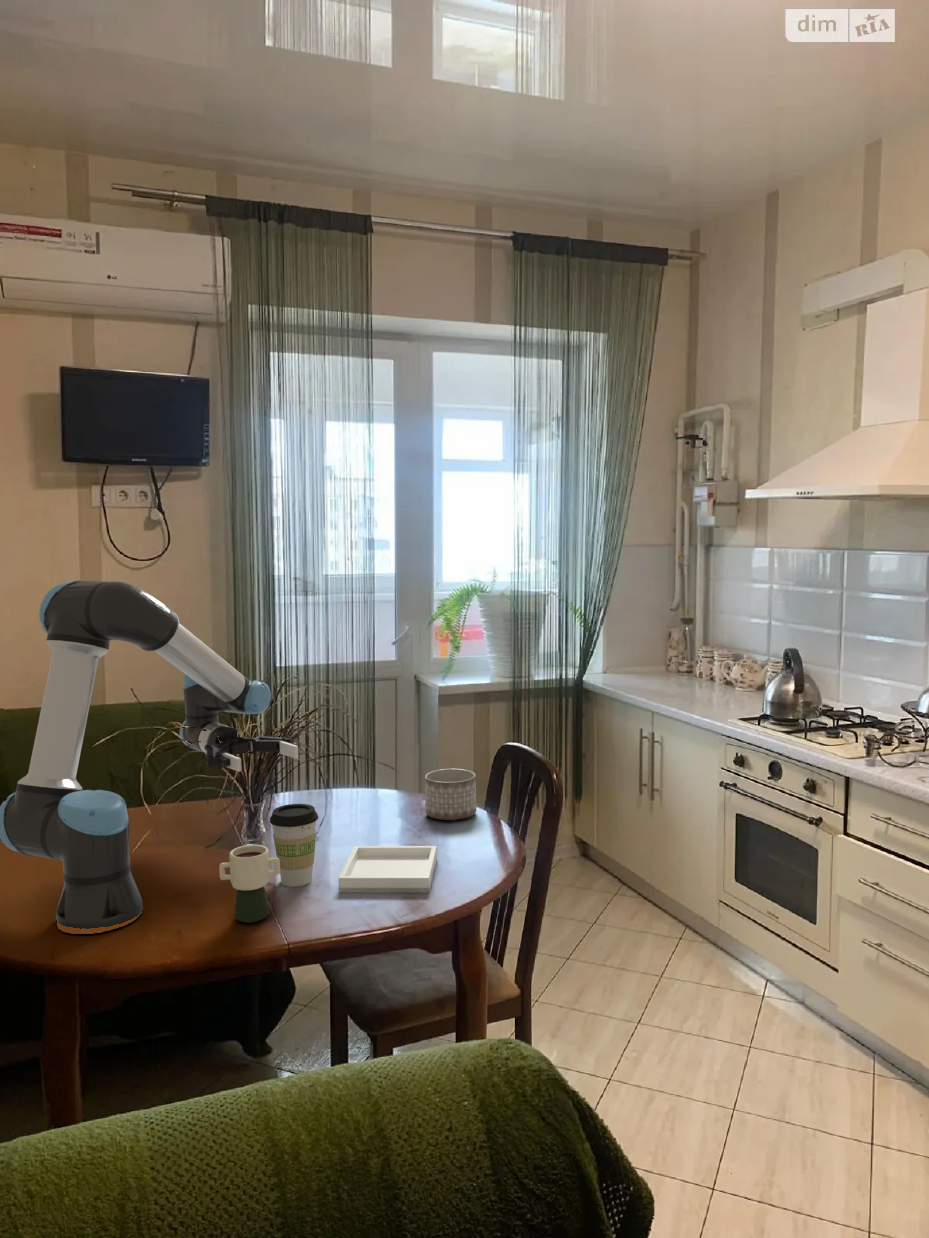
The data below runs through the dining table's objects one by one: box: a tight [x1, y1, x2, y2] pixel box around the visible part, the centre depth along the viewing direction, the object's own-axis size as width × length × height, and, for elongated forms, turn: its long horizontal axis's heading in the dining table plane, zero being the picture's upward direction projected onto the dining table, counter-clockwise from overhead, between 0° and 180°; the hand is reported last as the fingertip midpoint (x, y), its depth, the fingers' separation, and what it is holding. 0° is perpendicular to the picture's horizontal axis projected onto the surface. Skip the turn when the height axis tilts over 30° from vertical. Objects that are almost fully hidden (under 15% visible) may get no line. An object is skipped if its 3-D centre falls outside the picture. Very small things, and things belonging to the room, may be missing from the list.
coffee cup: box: [269, 803, 319, 888], centre depth 184 cm, size 10×10×15 cm
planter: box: [424, 768, 477, 821], centre depth 224 cm, size 13×13×10 cm
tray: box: [338, 845, 438, 894], centre depth 187 cm, size 18×18×3 cm
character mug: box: [218, 844, 280, 924], centre depth 167 cm, size 11×7×13 cm, turn 102°
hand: (268, 758), depth 190 cm, fingers open, 13 cm apart
